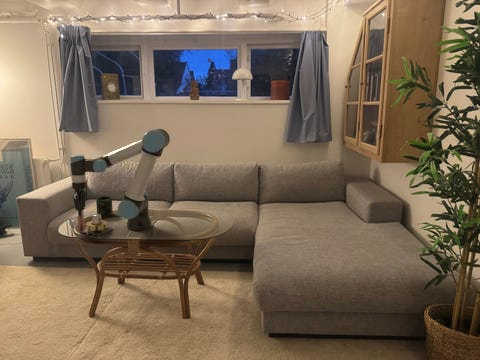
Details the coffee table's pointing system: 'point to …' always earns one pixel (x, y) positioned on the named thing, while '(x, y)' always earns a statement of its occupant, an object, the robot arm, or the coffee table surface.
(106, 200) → the mug
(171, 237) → the coffee table surface
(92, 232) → the spindle base
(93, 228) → the toothed crank wheel
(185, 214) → the coffee table surface
